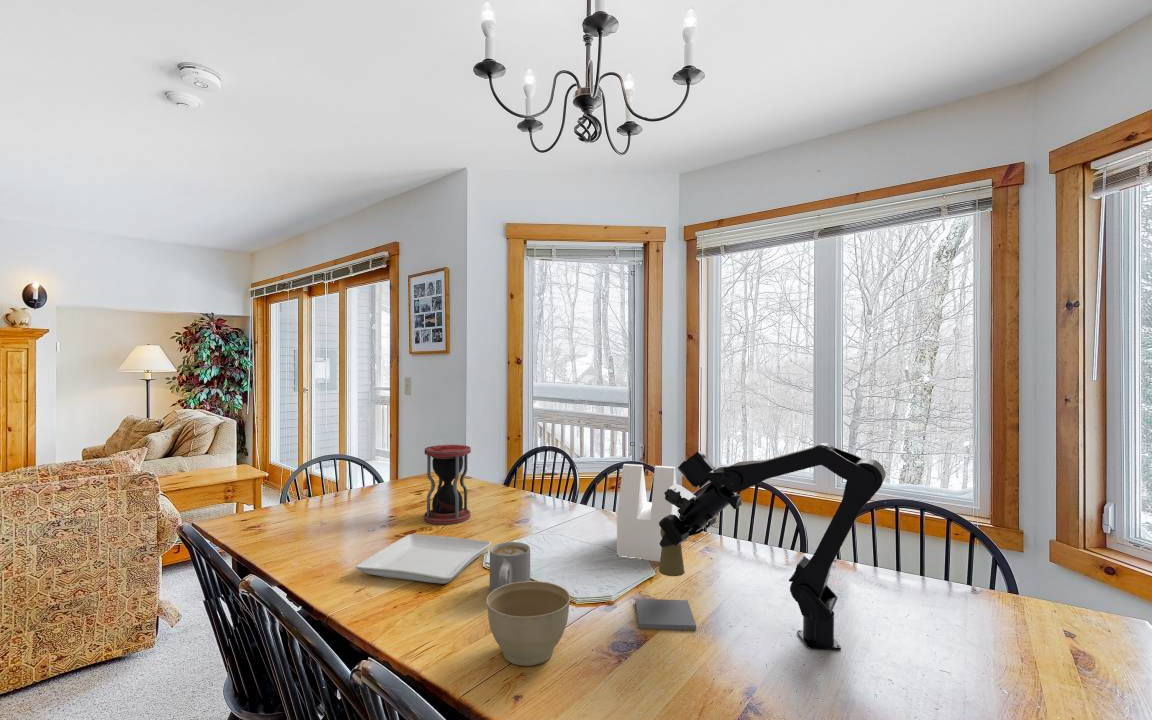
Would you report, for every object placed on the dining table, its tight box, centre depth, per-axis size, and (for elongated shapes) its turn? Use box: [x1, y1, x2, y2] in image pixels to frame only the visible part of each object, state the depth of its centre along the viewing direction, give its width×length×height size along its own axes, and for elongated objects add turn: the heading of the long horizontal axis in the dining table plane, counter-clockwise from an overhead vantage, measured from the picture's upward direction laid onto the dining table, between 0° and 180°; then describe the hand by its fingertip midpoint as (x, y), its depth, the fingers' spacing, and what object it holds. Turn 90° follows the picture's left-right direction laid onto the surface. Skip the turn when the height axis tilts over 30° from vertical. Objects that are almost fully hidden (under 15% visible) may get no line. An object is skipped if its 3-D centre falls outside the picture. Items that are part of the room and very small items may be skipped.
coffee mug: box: [489, 541, 531, 594], centre depth 132 cm, size 13×10×10 cm
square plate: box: [354, 533, 492, 585], centre depth 149 cm, size 27×27×4 cm
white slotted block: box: [616, 463, 678, 563], centre depth 163 cm, size 19×15×25 cm
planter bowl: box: [485, 580, 571, 667], centre depth 104 cm, size 16×16×11 cm
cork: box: [658, 528, 685, 577], centre depth 129 cm, size 6×6×11 cm
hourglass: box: [423, 444, 472, 525], centre depth 192 cm, size 16×16×25 cm
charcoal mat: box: [635, 598, 697, 631], centre depth 120 cm, size 12×12×1 cm
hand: (666, 542), depth 129 cm, fingers closed on cork, 5 cm apart
